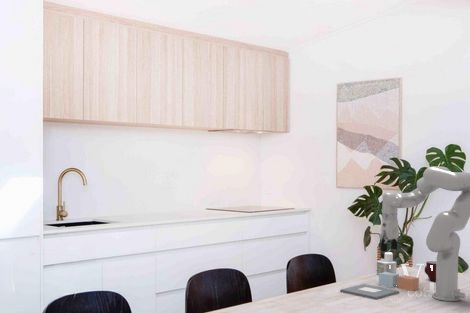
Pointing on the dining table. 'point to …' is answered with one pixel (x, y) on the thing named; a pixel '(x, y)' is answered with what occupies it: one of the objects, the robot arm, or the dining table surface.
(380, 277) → the blue brick
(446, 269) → the robot arm
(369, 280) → the dining table surface
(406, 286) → the terracotta brick
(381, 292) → the baseplate
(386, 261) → the container
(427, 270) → the mug
